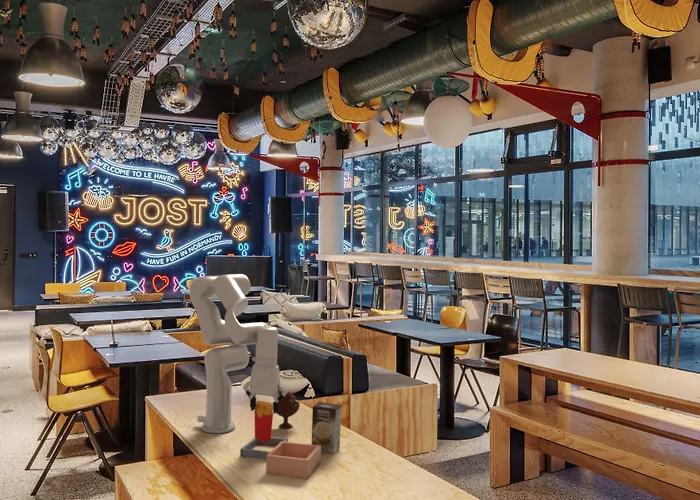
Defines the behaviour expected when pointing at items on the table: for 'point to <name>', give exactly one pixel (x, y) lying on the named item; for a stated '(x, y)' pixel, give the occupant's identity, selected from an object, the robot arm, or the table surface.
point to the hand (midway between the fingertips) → (264, 410)
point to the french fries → (263, 420)
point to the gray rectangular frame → (258, 454)
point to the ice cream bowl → (287, 408)
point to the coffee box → (326, 426)
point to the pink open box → (293, 460)
